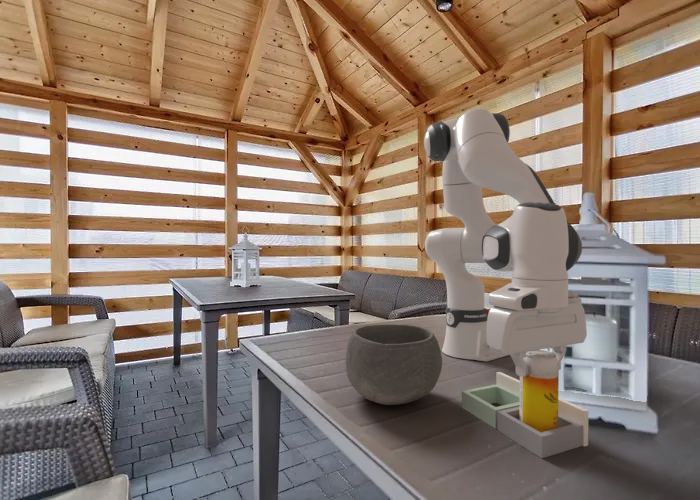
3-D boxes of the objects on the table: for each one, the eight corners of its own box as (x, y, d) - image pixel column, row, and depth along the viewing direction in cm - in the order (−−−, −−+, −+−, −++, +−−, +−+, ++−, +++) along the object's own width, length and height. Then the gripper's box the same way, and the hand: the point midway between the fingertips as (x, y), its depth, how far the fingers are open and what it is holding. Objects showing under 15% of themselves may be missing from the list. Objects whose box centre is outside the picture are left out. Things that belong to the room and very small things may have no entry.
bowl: (441, 384, 89) (441, 323, 89) (443, 427, 69) (443, 348, 68) (356, 378, 94) (356, 319, 93) (334, 416, 73) (334, 341, 73)
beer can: (563, 449, 61) (564, 360, 61) (524, 445, 63) (524, 357, 62) (551, 430, 67) (551, 349, 67) (515, 427, 68) (516, 347, 68)
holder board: (499, 398, 81) (499, 371, 81) (588, 445, 62) (588, 410, 62) (461, 407, 77) (461, 378, 77) (542, 459, 58) (543, 422, 58)
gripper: (564, 289, 71) (564, 359, 71) (480, 295, 64) (480, 374, 64) (597, 293, 65) (596, 370, 66) (508, 300, 58) (508, 387, 58)
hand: (538, 372), depth 65 cm, fingers closed on beer can, 6 cm apart
